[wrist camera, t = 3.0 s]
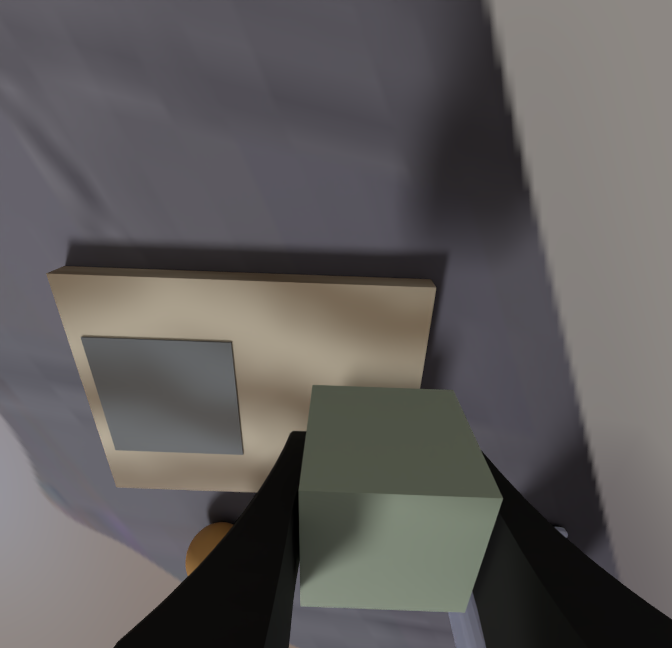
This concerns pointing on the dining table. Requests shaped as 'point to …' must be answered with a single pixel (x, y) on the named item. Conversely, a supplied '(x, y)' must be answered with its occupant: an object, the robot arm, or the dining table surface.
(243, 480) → the baseplate
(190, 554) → the figurine
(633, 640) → the robot arm
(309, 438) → the sage block
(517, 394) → the dining table surface
